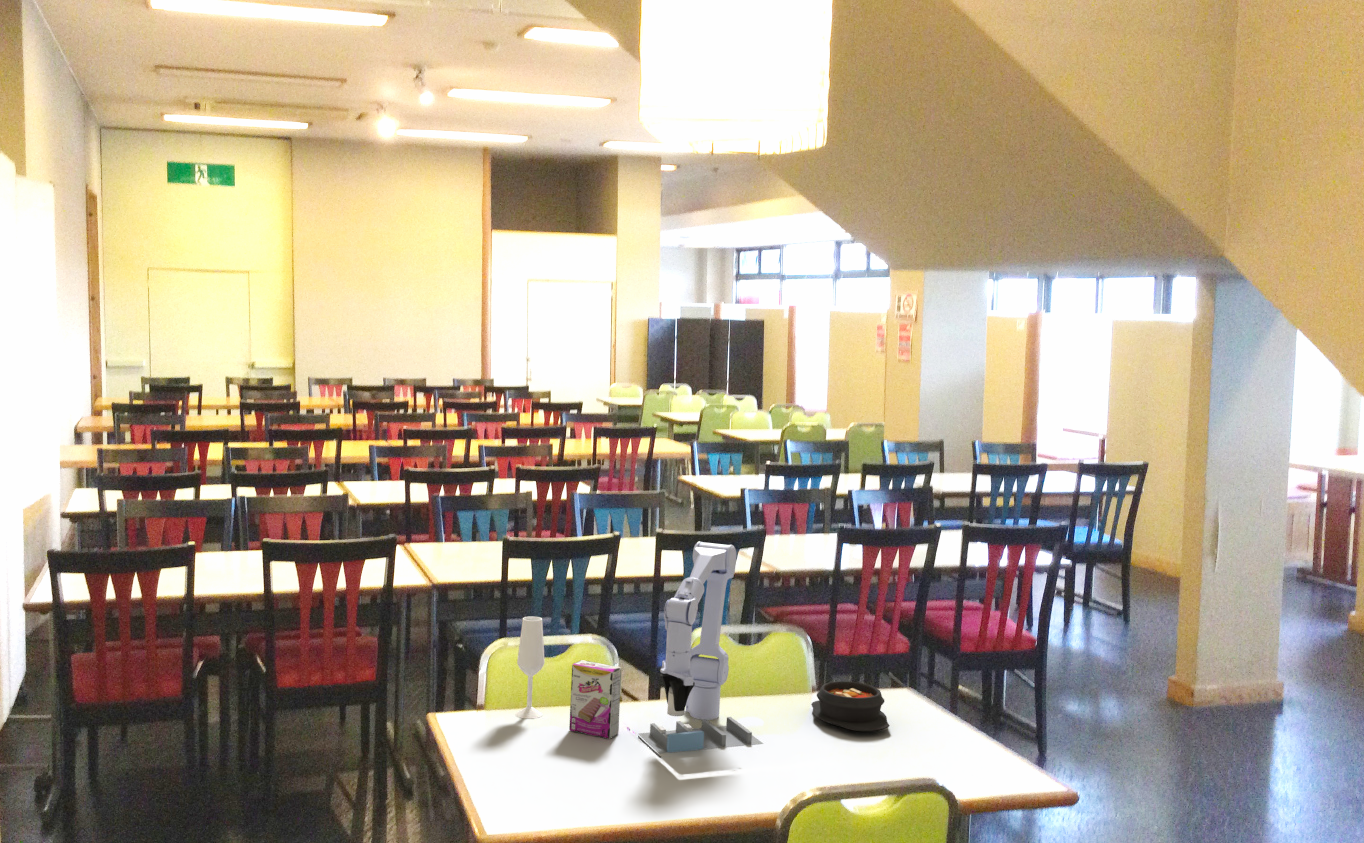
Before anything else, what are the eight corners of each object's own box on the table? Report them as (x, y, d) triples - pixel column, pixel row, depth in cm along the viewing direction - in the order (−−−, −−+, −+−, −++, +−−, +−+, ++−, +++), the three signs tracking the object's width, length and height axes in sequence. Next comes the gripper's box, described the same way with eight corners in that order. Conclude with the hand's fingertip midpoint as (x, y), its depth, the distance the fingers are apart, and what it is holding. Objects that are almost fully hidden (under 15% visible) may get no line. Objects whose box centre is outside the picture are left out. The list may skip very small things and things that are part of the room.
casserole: (907, 735, 296) (909, 701, 295) (839, 740, 289) (841, 706, 289) (858, 704, 319) (859, 673, 318) (794, 709, 312) (796, 677, 312)
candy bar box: (568, 731, 287) (570, 663, 286) (578, 725, 291) (581, 659, 290) (609, 740, 282) (612, 671, 281) (619, 734, 287) (622, 666, 285)
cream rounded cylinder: (664, 711, 281) (666, 686, 281) (680, 710, 283) (682, 685, 282) (671, 716, 277) (672, 691, 277) (687, 715, 279) (688, 690, 279)
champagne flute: (536, 719, 294) (539, 623, 293) (510, 716, 296) (514, 620, 294) (546, 712, 301) (550, 617, 299) (521, 708, 302) (525, 614, 301)
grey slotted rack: (637, 737, 285) (638, 716, 284) (737, 728, 294) (738, 708, 294) (659, 757, 272) (660, 736, 271) (763, 747, 282) (764, 726, 281)
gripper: (651, 643, 284) (648, 699, 285) (674, 659, 271) (671, 718, 272) (678, 641, 287) (676, 697, 288) (702, 657, 273) (700, 716, 274)
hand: (675, 707), depth 280 cm, fingers closed on cream rounded cylinder, 4 cm apart
